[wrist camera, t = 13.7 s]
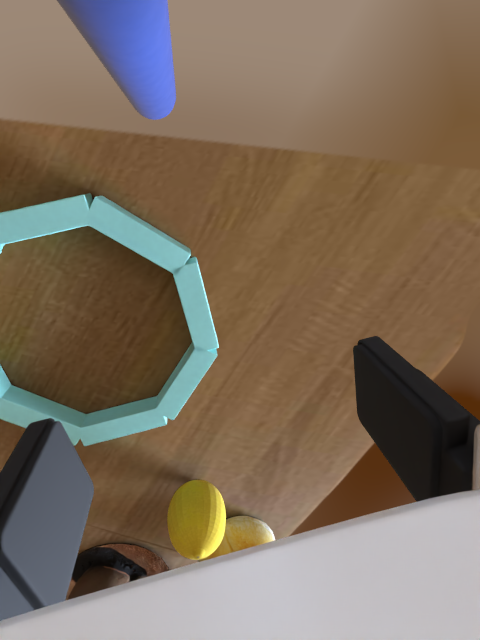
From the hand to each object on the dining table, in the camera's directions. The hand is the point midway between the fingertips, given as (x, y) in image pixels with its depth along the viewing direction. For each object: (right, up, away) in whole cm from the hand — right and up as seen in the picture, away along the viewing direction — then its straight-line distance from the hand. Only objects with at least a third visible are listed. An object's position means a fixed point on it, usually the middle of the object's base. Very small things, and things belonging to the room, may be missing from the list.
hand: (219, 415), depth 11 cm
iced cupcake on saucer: (-14, -27, +30) cm, 43 cm away
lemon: (-4, -14, +26) cm, 30 cm away
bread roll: (0, -23, +30) cm, 38 cm away
